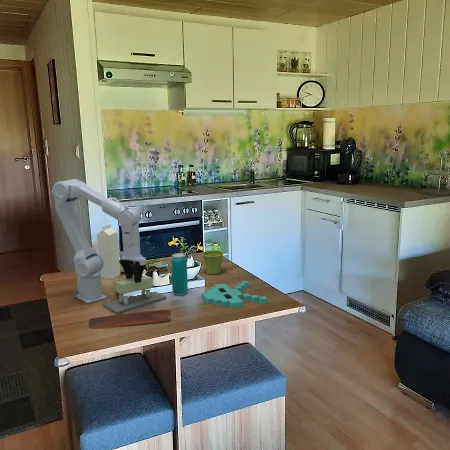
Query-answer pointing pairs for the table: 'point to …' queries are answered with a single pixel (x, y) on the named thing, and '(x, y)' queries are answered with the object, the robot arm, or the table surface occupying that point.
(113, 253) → the milk
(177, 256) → the beverage can
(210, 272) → the plant pot
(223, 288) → the alien figure
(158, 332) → the table surface
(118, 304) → the peg rack
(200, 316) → the table surface
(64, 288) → the table surface
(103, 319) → the wooden tablet
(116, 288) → the pale green block
